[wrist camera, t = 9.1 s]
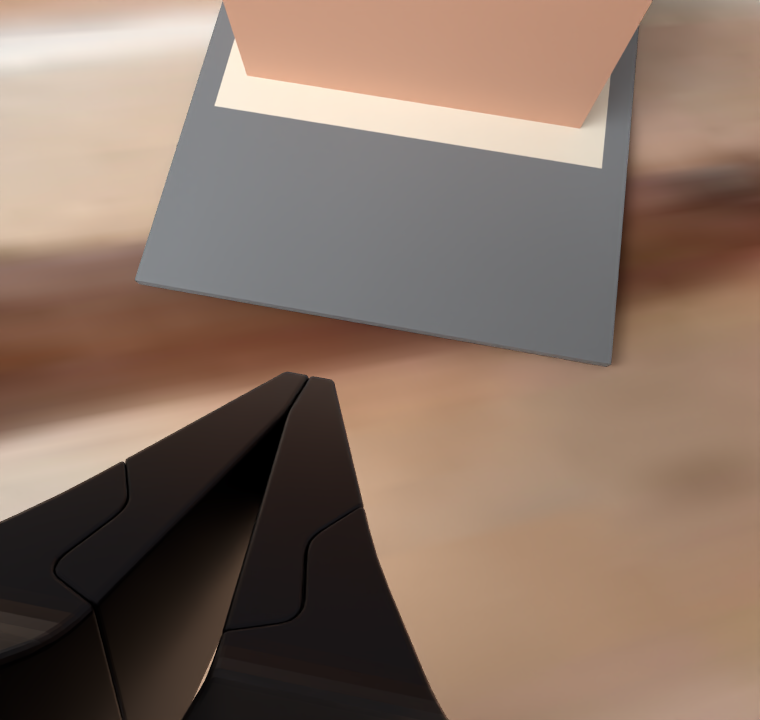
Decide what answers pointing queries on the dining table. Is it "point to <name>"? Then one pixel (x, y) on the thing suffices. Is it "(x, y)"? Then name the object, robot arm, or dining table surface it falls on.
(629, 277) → the dining table surface
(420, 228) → the mat
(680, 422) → the dining table surface
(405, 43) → the t block
